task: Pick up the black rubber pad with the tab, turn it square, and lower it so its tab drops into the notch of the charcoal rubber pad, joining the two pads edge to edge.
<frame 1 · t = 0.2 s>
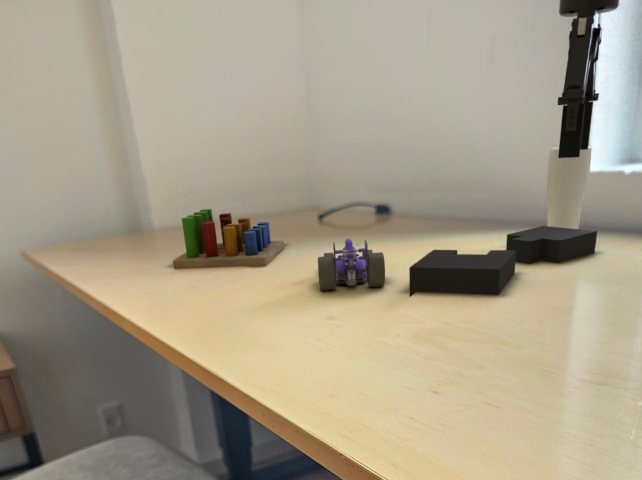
hand: (573, 153, 96), 15 cm above the table, tool pointing down, fingers open, 13 cm apart
notch pad: (463, 287, 93), on the table
peg board: (231, 259, 125), on the table
tab pad: (549, 258, 105), on the table
drinking glass: (561, 239, 118), on the table
toy race car: (350, 281, 102), on the table
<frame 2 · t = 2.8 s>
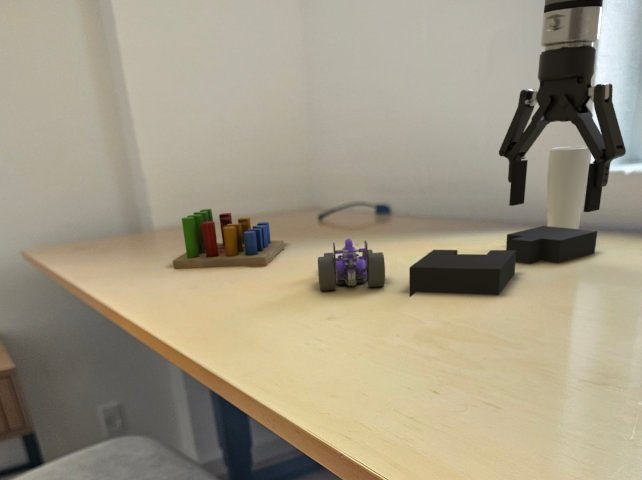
hand: (552, 207, 101), 8 cm above the table, tool pointing down, fingers open, 13 cm apart
nothing on the table moved.
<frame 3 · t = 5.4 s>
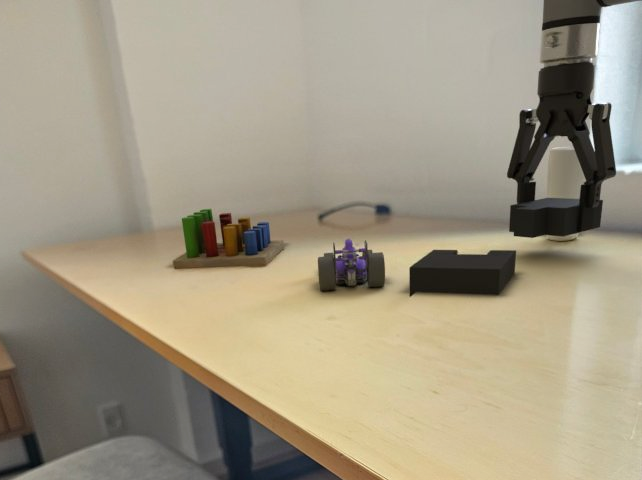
hand: (553, 227, 102), 5 cm above the table, tool pointing down, fingers closed on tab pad, 10 cm apart
tab pad: (553, 229, 102), point 4 cm above the table, touching gripper
everything else where it was.
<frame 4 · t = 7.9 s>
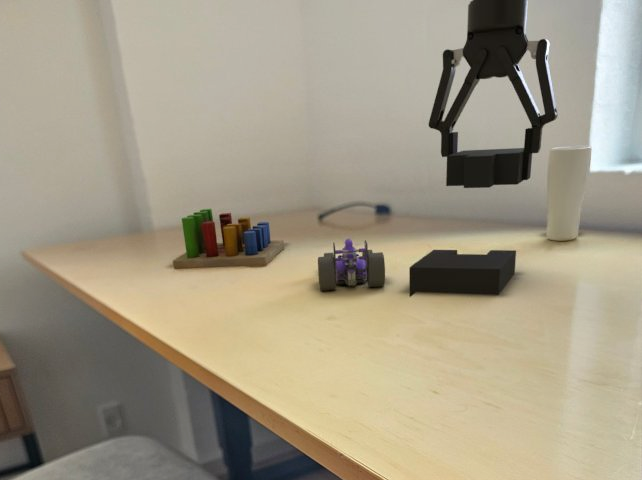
hand: (487, 179, 96), 13 cm above the table, tool pointing down, fingers closed on tab pad, 10 cm apart
tab pad: (487, 181, 96), point 13 cm above the table, touching gripper
everything else where it was.
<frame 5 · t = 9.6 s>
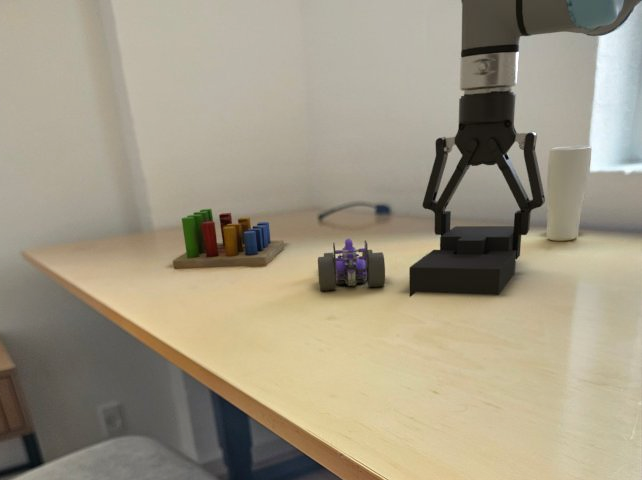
hand: (479, 257, 100), 2 cm above the table, tool pointing down, fingers closed on tab pad, 10 cm apart
tab pad: (479, 258, 100), point 2 cm above the table, touching gripper
everything else where it was.
when the fingers open (0 cm above the table, at t = 10.7 s): tab pad stays where it is, on the table.
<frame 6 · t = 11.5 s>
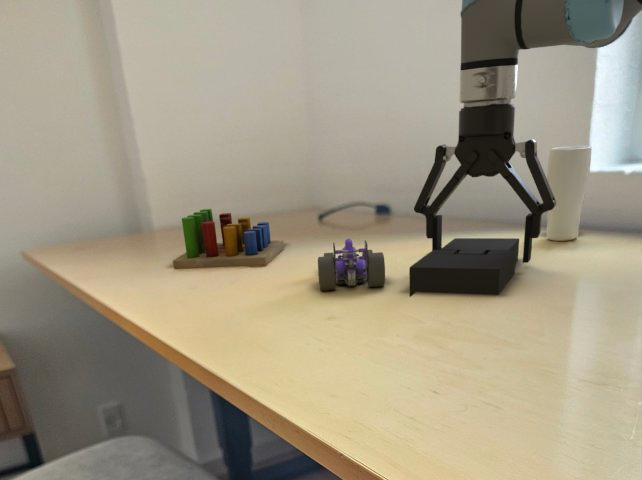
hand: (480, 260, 100), 2 cm above the table, tool pointing down, fingers open, 13 cm apart
tab pad: (479, 270, 101), on the table
everything else where it was.
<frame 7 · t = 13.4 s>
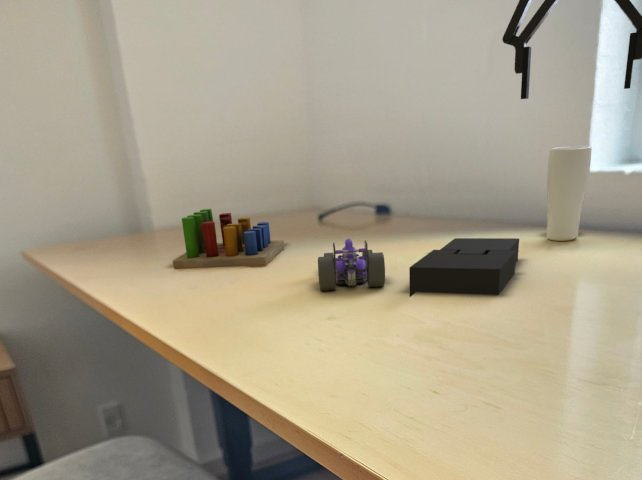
hand: (574, 94, 93), 23 cm above the table, tool pointing down, fingers open, 13 cm apart
nothing on the table moved.
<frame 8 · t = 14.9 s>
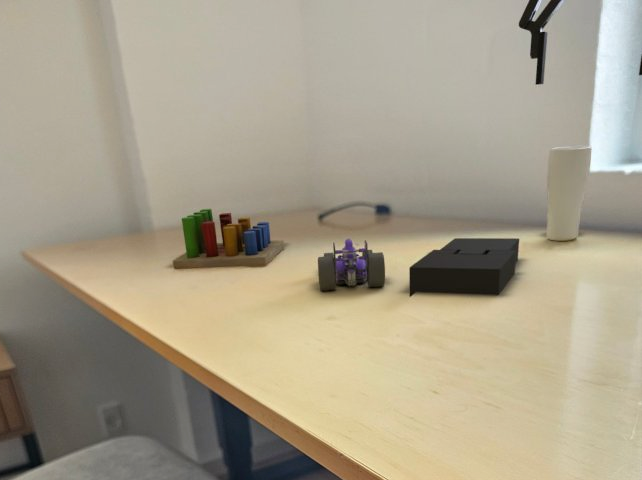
hand: (589, 80, 94), 25 cm above the table, tool pointing down, fingers open, 13 cm apart
nothing on the table moved.
at the end: tab pad 0.1 cm from the target spot on the table beside the notch pad, on the table; tab pad tilted 0°; the gripper is holding nothing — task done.
